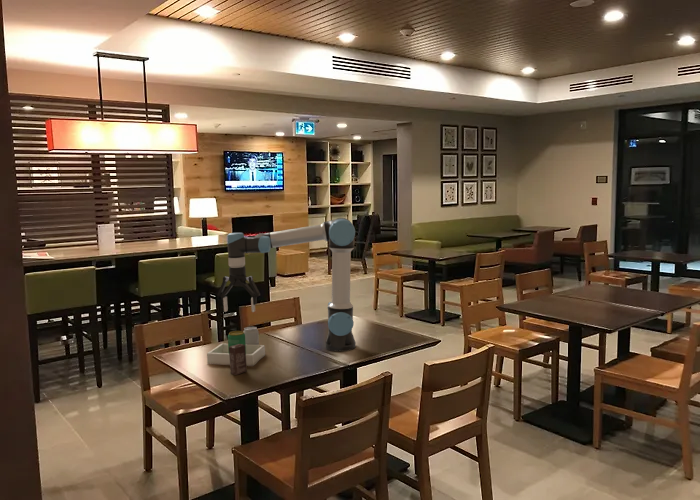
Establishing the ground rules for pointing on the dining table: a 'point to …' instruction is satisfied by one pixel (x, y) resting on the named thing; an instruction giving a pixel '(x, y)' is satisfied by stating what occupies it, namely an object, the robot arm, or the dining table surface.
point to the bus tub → (223, 358)
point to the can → (251, 335)
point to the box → (237, 359)
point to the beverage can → (236, 338)
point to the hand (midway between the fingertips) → (239, 311)
